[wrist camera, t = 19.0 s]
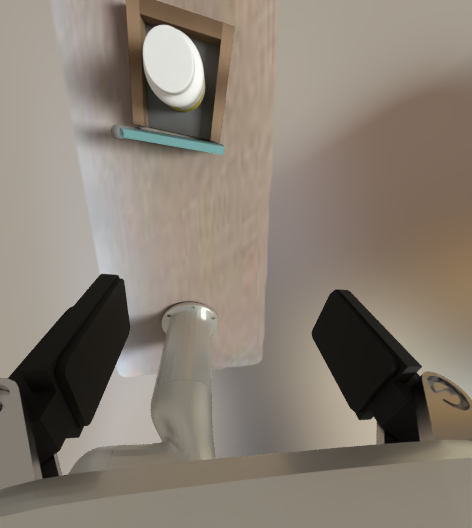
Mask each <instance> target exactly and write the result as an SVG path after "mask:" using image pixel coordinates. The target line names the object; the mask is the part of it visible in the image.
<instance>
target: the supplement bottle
mask: <svg viewBox="0 0 472 528" xmlns="http://www.w3.org/2000/svg"><path fill="white" fill-rule="evenodd" d="M143 66H144V72H145V75H146V78H147V81H148V83H149V85H150V87H151V89H152V90H153V92H154V93H155V94H156V96H157V97H158V98H159V99H160V100H162V101H163V102H164V103H166V104H167V105H169V106H170V107H172V108H173V109H175V110H177V111H180V112H190V111H193V110H195V109H196V108H197V107H198V106H199V105H200V104H201V102H202V100H203V97H204V94H205V78H204V70H203V64H202V60H201V57H200V54H199V52H198V50H197V48H196V46H195V45H194V43H193V42H192V41H191V39H190V38H189V37H188V36H187V35H185V34H184V33H183V32H181V31H180V30H178V29H175V28H173V27H171V26H169V25H158V26H155V27H154V28H152V29H151V30H150V31H149V32H148V34H147V36H146V38H145V40H144V44H143Z"/></svg>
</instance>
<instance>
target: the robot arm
mask: <svg viewBox="0 0 472 528" xmlns="http://www.w3.org/2000/svg"><path fill="white" fill-rule="evenodd" d="M161 324H162V329H163V331H164V333H165V334H166V338H165V343H164V347H163V352H162V356H161V361H160V365H159V369H158V374H157V378H156V383H155V388H154V392H153V396H152V400H151V417H152V420H153V423H154V426H155V428H156V430H157V432H158V434H159V436H160V438H161V440H162V442H161V443H153V444H146V445H145V444H143V445H118V446H106V447H99V448H95V449H93V450H91V451H88V452H87V453H85V454H84V455H83V456H82V457H81V458H80V459H79V460H78V461H77V462H76V463H75V465H74V466H73V467H72V469H71V471H70V472H69V474H68V475H63V476H62V472H61V468H60V464H59V460H58V456H57V452H58V451H60V449H61V447H62V445H63V443H64V441H65V439H66V438H76V437H77V438H78V437H79V436H80V434H81V432H82V430H83V427H84V426H88V425H89V424H90V423H91V421H92V419H93V417H94V414H95V412H96V410H97V408H98V405H99V403H100V400H101V398H102V396H103V393H104V391H105V389H106V386H107V384H108V381H109V379H110V377H111V375H112V372H113V370H114V368H115V365H116V363H117V361H118V358H119V356H120V354H121V351H122V349H123V347H124V344H125V342H126V340H127V337H128V335H129V331H130V322H129V315H128V307H127V300H126V292H125V285H124V280H123V279H120V278H119V276H118V275H110V274H101V275H100V276H99V277H98V278H97V279H96V280H95V282H94V283H93V284H92V285H91V286H90V287H89V289H88V290H87V291H86V292H85V293H84V295H83V296H82V297H81V298H80V299H79V300H78V302H77V303H76V304H75V305H74V306H73V307H70V308H69V309H68V310H67V311H66V312H65V313H64V314H63V315H62V316H61V318H60V319H59V320H58V321H57V322H56V323H55V324H54V326H53V327H52V328H51V329H50V330H49V331H48V333H47V334H46V335H45V336H44V337H43V338H42V339H41V341H40V342H39V343H38V344H37V345H36V347H35V348H34V349H33V350H32V351H31V352H30V353H29V354H28V356H27V357H26V358H25V359H24V360H23V361H22V363H21V364H20V365H19V366H18V367H17V368H16V370H15V371H14V372H13V373H12V374H11V375H10V377H9V378H8V379H5V378H0V528H472V400H471V399H470V397H469V396H468V395H467V394H466V393H465V392H464V391H463V390H462V389H461V388H460V387H459V386H457V385H456V384H455V383H453V382H452V381H450V380H449V379H447V378H445V377H444V376H441V375H439V374H437V373H433V372H424V373H423V374H422V375H421V376H419V375H418V374H417V371H418V370H419V369H420V368H421V367H422V366H421V365H420V364H419V363H418V362H417V361H416V360H415V359H414V358H413V357H412V356H411V355H410V354H409V353H408V352H407V350H405V348H404V347H403V346H402V345H401V344H400V343H399V342H398V341H397V340H396V339H395V338H394V337H393V336H392V335H391V334H390V333H389V332H388V331H387V330H386V329H385V328H384V326H383V325H382V324H381V323H380V322H379V321H378V320H376V318H375V317H374V316H373V315H372V314H371V313H370V312H369V311H368V310H367V309H366V308H365V307H364V306H363V305H362V304H361V303H360V302H359V301H358V299H357V298H356V297H355V296H354V295H353V294H352V293H351V292H350V291H348V290H334V291H333V292H332V293H331V294H330V295H329V297H328V299H327V301H326V303H325V305H324V307H323V310H322V312H321V314H320V316H319V318H318V320H317V322H316V324H315V326H314V328H313V330H312V337H313V340H314V341H315V343H316V345H317V347H318V349H319V351H320V353H321V354H322V356H323V358H324V360H325V362H326V364H327V366H328V368H329V369H330V371H331V373H332V375H333V377H334V379H335V381H336V382H337V384H338V386H339V388H340V390H341V392H342V394H343V395H344V397H345V399H346V401H347V403H348V405H349V407H350V408H351V409H352V410H353V411H354V412H355V413H356V415H357V417H358V419H359V420H368V419H371V418H372V417H375V419H376V421H377V444H376V445H366V446H354V447H342V448H331V449H319V450H307V451H298V452H285V453H274V454H263V455H251V456H240V457H229V458H219V459H216V458H215V457H216V456H215V448H214V441H213V440H214V439H213V425H212V336H213V335H214V334H215V332H216V331H217V329H218V317H217V314H216V313H215V312H214V311H213V310H212V309H211V308H210V307H208V306H206V305H204V304H200V303H195V302H185V303H180V304H177V305H174V306H172V307H171V308H169V309H168V310H167V311H166V312H165V313H164V315H163V318H162V322H161Z"/></svg>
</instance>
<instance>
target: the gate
mask: <svg viewBox="0 0 472 528" xmlns="http://www.w3.org/2000/svg"><path fill="white" fill-rule="evenodd" d="M111 132H112V134H113V136H114V137H115V138H117V139H128V138H129V139H134V140H140V141H146V142H152V143H157V144H163V145H169V146H175V147H180V148H186V149H192V150H198V151H203V152H209V153H215V154H221V155H223V154H224V146H223V145H222V144H218V143H213V142H207V141H202V140H196V139H191V138H185V137H180V136H175V135H169V134H164V133H158V132H153V131H147V130H142V129H141V128H139V127H133V126H121V125H114V126H112V128H111Z"/></svg>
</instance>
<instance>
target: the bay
mask: <svg viewBox="0 0 472 528" xmlns="http://www.w3.org/2000/svg"><path fill="white" fill-rule="evenodd" d="M126 14H127V30H128V47H129V63H130V80H131V96H132V112H133V124H136V125H141V126H147V127H152V128H157V129H161V130H166V131H171V132H175V133H180V134H184V135H189V136H193V137H198V138H203V139H207V140H210V141H214V142H218V143H220V137H221V129H222V121H223V114H224V106H225V98H226V90H227V82H228V75H229V67H230V59H231V51H232V44H233V36H234V28H235V26H232V25H229V24H226V23H223V22H220V21H217V20H214V19H211V18H208V17H204V16H201V15H198V14H195V13H192V12H189V11H186V10H183V9H180V8H177V7H174V6H171V5H168V4H165V3H162V2H159V1H156V0H126ZM158 25H169V26H171V27H173V28H175V29H178V30H180V31H181V32H183V33H184V34H185V35H187V36H188V37H189V38H190V39H191V41H192V42H193V43H194V45H195V46H196V48H197V50H198V52H199V54H200V57H201V60H202V64H203V70H204V78H205V94H204V97H203V100H202V102H201V104H200V105H199V106H198V107H197V108H196V109H195V110H193V111H190V112H180V111H177V110H175V109H173V108H172V107H170V106H169V105H167V104H166V103H164V102H163V101H162V100H160V99H159V98H158V97H157V96H156V94H155V93H154V92H153V90H152V89H151V87H150V85H149V83H148V81H147V78H146V75H145V72H144V66H143V44H144V40H145V38H146V36H147V34H148V32H149V31H150V30H151V29H152V28H154V27H155V26H158Z"/></svg>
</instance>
